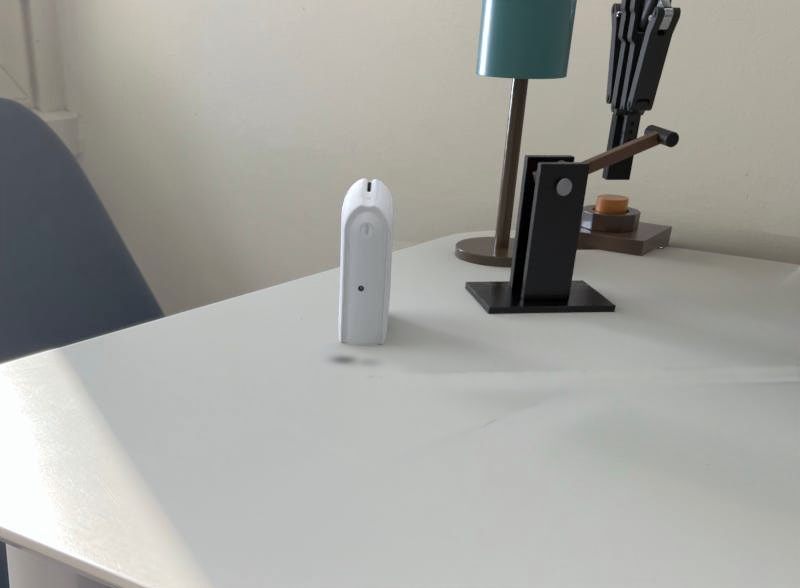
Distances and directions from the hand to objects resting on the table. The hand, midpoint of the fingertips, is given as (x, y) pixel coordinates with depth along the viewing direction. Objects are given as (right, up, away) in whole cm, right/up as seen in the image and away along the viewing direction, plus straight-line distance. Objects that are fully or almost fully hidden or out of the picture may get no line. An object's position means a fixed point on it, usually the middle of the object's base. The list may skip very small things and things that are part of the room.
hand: (615, 178), depth 113 cm
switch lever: (-8, -11, -24) cm, 27 cm away
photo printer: (-30, -26, -26) cm, 48 cm away
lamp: (-14, -11, -3) cm, 18 cm away
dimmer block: (0, -6, +4) cm, 7 cm away
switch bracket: (-13, -21, -18) cm, 30 cm away
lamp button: (0, -3, +2) cm, 4 cm away
